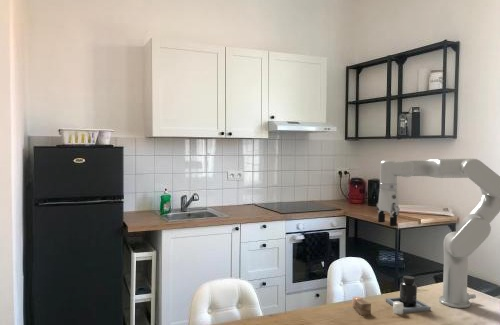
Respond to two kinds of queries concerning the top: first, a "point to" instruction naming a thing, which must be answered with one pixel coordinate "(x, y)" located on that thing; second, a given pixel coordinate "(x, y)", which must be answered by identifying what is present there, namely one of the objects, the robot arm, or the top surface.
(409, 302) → the supplement bottle
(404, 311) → the tray
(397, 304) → the white egg
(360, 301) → the walnut block
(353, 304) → the peach rounded dome
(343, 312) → the top surface
